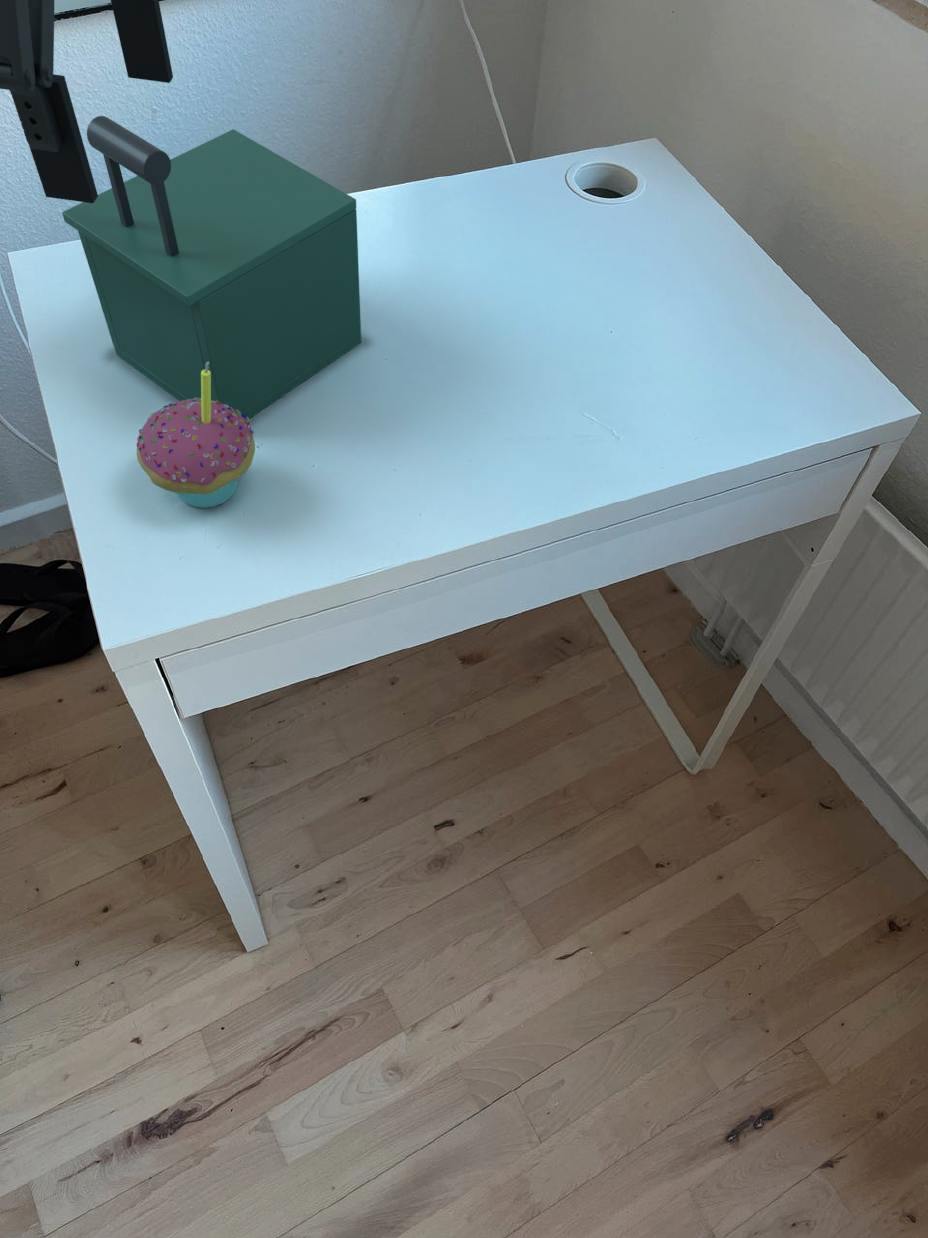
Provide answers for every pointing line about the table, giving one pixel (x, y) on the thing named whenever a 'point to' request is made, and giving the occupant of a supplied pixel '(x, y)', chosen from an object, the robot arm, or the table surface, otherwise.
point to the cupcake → (197, 448)
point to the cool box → (239, 321)
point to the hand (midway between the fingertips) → (114, 133)
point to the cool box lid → (201, 208)
